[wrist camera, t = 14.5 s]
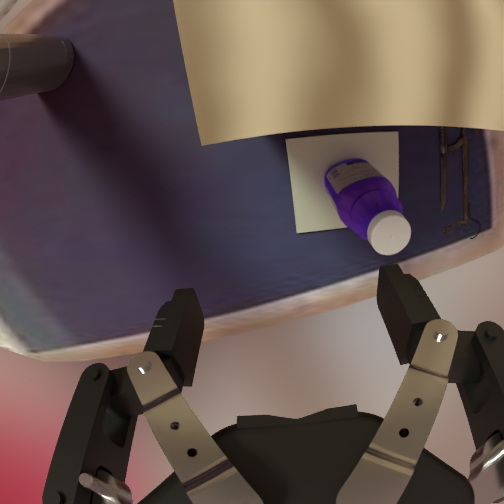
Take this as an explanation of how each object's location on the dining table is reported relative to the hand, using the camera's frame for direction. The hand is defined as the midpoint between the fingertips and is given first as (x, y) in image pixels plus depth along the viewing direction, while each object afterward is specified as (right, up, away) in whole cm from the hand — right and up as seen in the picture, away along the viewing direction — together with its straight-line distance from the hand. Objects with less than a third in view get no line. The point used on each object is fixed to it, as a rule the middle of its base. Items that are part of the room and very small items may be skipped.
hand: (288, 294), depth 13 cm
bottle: (+12, +12, +27) cm, 32 cm away
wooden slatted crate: (+9, +30, +17) cm, 35 cm away
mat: (+12, +12, +28) cm, 32 cm away
